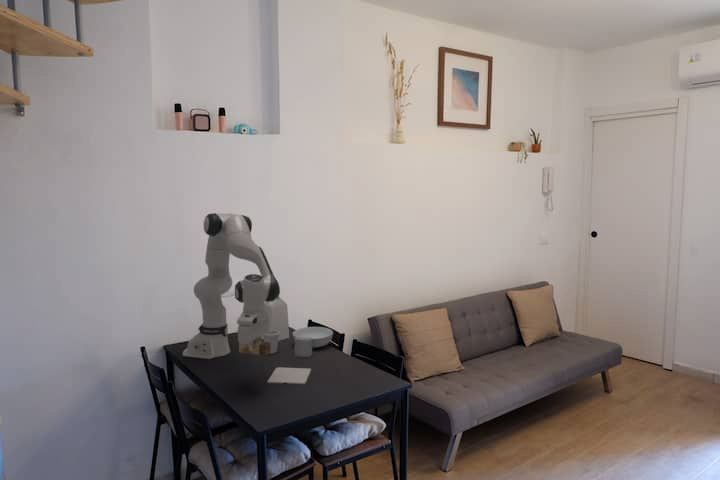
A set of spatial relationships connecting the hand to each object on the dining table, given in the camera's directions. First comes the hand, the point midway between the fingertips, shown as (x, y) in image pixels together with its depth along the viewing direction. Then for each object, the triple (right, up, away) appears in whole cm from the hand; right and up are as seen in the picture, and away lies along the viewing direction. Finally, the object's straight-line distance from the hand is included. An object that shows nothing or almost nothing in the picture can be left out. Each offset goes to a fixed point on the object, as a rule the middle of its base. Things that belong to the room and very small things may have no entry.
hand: (254, 348), depth 199 cm
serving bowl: (+18, -11, +56) cm, 60 cm away
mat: (+12, -15, +15) cm, 25 cm away
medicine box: (+15, -13, +41) cm, 45 cm away
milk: (-4, -9, +68) cm, 69 cm away
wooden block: (0, -2, 0) cm, 2 cm away
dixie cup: (-2, -12, +46) cm, 47 cm away
